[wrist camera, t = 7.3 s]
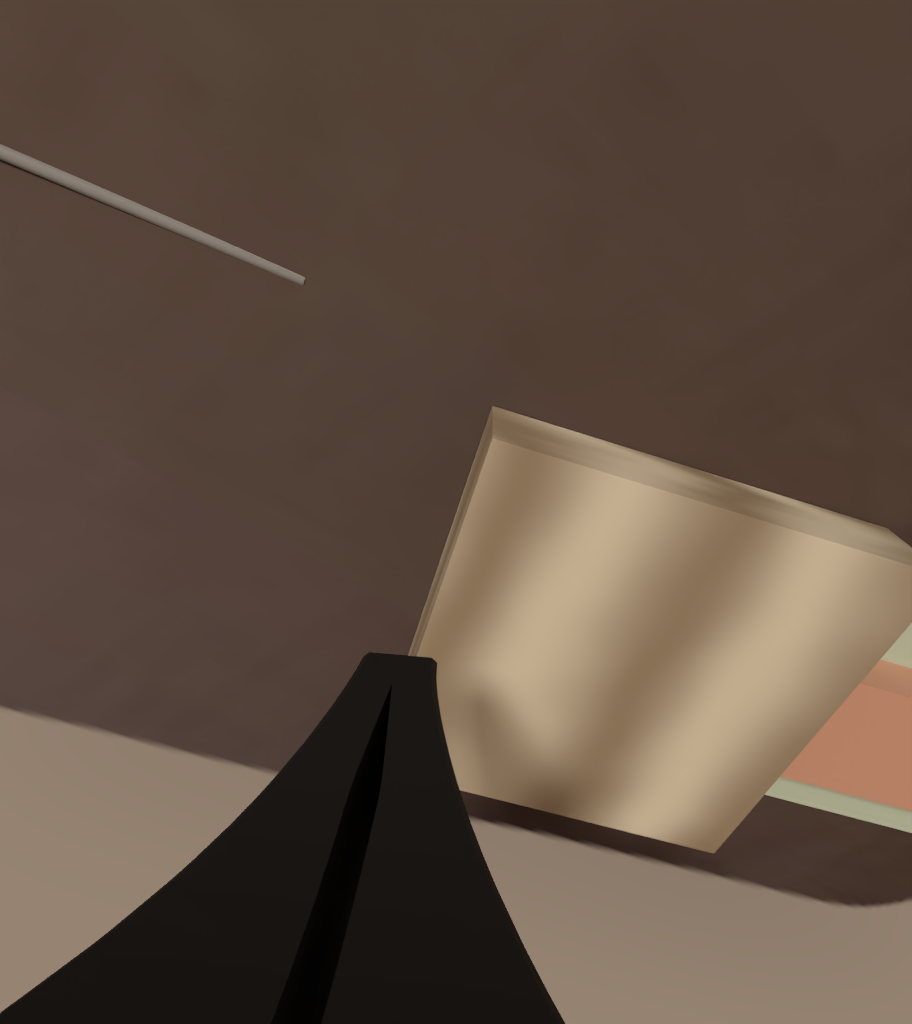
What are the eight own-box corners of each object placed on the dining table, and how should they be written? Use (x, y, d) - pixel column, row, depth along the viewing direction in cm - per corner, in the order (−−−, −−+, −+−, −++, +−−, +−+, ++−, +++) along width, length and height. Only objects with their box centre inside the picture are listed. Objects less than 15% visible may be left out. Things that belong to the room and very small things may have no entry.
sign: (279, 366, 18) (-254, 153, 16) (288, 360, 18) (-219, 157, 16) (326, 188, 15) (-293, -91, 13) (333, 188, 16) (-251, -75, 14)
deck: (389, 709, 24) (377, 769, 22) (492, 406, 18) (492, 438, 15) (690, 787, 26) (714, 853, 23) (886, 528, 19) (950, 577, 17)
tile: (749, 731, 23) (770, 773, 22) (818, 641, 21) (848, 680, 19) (921, 778, 24) (956, 823, 22) (1007, 696, 22) (1053, 738, 20)
